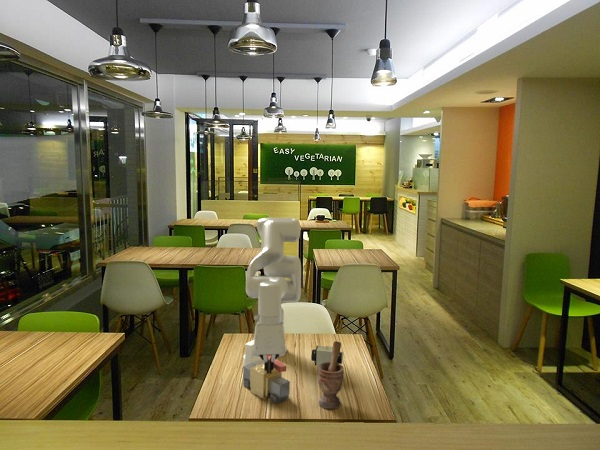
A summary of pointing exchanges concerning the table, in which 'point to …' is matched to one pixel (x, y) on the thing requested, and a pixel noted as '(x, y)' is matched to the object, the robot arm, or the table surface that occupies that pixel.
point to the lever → (278, 365)
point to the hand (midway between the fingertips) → (269, 371)
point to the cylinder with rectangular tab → (250, 355)
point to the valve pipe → (266, 383)
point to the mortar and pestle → (331, 379)
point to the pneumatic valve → (324, 355)
